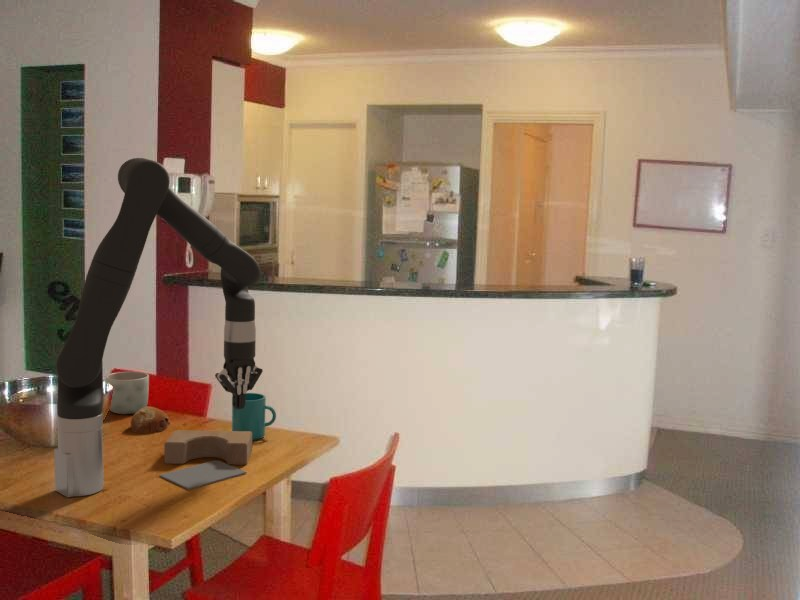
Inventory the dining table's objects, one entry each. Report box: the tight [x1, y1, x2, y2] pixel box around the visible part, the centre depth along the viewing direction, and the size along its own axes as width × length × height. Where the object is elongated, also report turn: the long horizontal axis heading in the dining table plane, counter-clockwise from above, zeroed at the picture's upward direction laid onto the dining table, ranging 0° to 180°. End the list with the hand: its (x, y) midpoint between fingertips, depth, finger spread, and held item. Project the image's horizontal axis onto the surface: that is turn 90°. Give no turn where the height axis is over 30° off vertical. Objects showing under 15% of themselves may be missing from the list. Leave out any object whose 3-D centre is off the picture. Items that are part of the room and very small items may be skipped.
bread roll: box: [130, 405, 171, 434], centre depth 228 cm, size 10×10×8 cm
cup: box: [231, 392, 277, 441], centre depth 222 cm, size 9×12×11 cm
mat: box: [159, 459, 247, 491], centre depth 191 cm, size 16×12×1 cm
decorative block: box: [163, 429, 253, 466], centre depth 203 cm, size 11×6×20 cm
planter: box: [105, 371, 150, 415], centre depth 244 cm, size 12×12×11 cm
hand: (238, 408), depth 197 cm, fingers closed
